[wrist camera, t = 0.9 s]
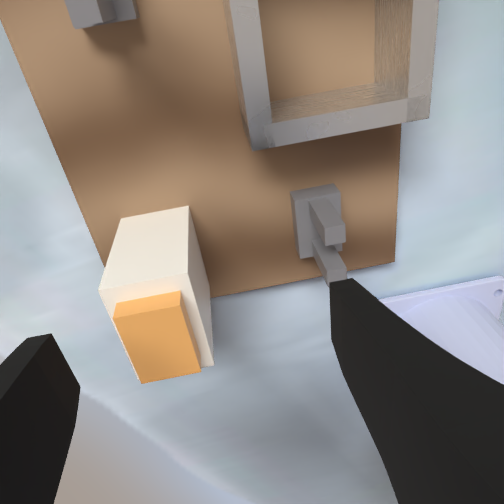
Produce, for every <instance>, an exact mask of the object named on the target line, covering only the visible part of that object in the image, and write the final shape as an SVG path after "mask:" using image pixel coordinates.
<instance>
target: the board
mask: <svg viewBox="0 0 504 504" xmlns="http://www.w3.org/2000/svg"><path fill="white" fill-rule="evenodd" d="M136 4H137V8H138V12H139V16H140V17H139V18H137V19H131V20H126V21H120V22H114V23H109V24H103V25H98V26H92V27H86V28H81V29H75V28H73V25H72V22H71V19H70V16H69V13H68V10H67V7H66V4H65V1H64V0H0V20H1V22H2V25H3V27H4V29H5V32H6V34H7V37H8V39H9V41H10V44H11V46H12V48H13V51H14V53H15V56H16V58H17V60H18V63H19V65H20V67H21V70H22V72H23V75H24V77H25V79H26V82H27V84H28V86H29V89H30V91H31V94H32V96H33V98H34V101H35V103H36V105H37V108H38V110H39V113H40V115H41V117H42V120H43V122H44V124H45V127H46V129H47V132H48V134H49V136H50V139H51V141H52V143H53V146H54V148H55V151H56V153H57V155H58V158H59V160H60V162H61V165H62V167H63V170H64V172H65V174H66V177H67V179H68V181H69V184H70V186H71V189H72V191H73V193H74V196H75V198H76V200H77V203H78V205H79V208H80V210H81V212H82V215H83V217H84V219H85V222H86V224H87V227H88V229H89V231H90V234H91V236H92V238H93V241H94V243H95V246H96V248H97V250H98V253H99V255H100V257H101V260H102V262H103V265H104V267H106V263H107V260H108V257H109V254H110V251H111V248H112V245H113V242H114V238H115V235H116V232H117V229H118V226H119V223H120V220H121V218H126V217H131V216H136V215H142V214H147V213H152V212H157V211H163V210H168V209H173V208H178V207H184V206H189V209H190V213H191V217H192V221H193V224H194V228H195V232H196V236H197V240H198V244H199V248H200V251H201V255H202V259H203V263H204V267H205V271H206V275H207V279H208V282H209V287H210V298H214V297H219V296H224V295H229V294H234V293H239V292H244V291H249V290H254V289H259V288H264V287H269V286H275V285H280V284H285V283H290V282H295V281H300V280H305V279H310V278H315V277H320V276H323V275H322V273H321V271H320V269H319V267H318V265H317V263H316V260H315V258H314V256H313V257H308V258H303V259H300V257H299V255H298V252H297V250H296V246H295V237H294V227H293V218H292V209H291V200H290V191H295V190H300V189H305V188H311V187H316V186H321V185H326V184H331V183H334V184H335V186H336V187H337V188H338V190H339V191H340V195H341V219H342V220H343V222H344V223H345V231H346V242H344V243H342V251H339V252H338V253H339V255H340V257H341V259H342V260H343V262H344V264H345V266H346V267H347V271H351V270H356V269H361V268H366V267H371V266H376V265H381V264H386V263H391V262H395V241H396V221H397V200H398V180H399V159H400V139H401V123H400V124H395V125H390V126H384V127H379V128H374V129H368V130H363V131H358V132H352V133H347V134H342V135H336V136H331V137H326V138H321V139H315V140H310V141H305V142H299V143H294V144H289V145H283V146H278V147H273V148H267V149H262V150H257V151H252V149H251V147H250V144H249V142H248V139H247V137H246V134H245V131H244V129H243V124H242V118H241V112H240V106H239V99H238V93H237V87H236V81H235V75H234V68H233V62H232V56H231V50H230V43H229V37H228V31H227V25H226V18H225V12H224V6H223V0H136ZM258 7H259V15H260V24H261V32H262V40H263V48H264V57H265V65H266V73H267V82H268V90H269V98H270V102H272V101H277V100H283V99H288V98H293V97H299V96H304V95H310V94H315V93H320V92H326V91H331V90H337V89H342V88H347V87H353V86H358V85H364V84H369V83H374V40H375V0H258Z"/></svg>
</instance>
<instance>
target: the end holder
mask: <svg viewBox="0 0 504 504" xmlns="http://www.w3.org/2000/svg"><path fill="white" fill-rule="evenodd" d="M223 6H224V12H225V18H226V25H227V31H228V37H229V43H230V50H231V56H232V62H233V68H234V75H235V81H236V87H237V93H238V99H239V106H240V112H241V118H242V124H243V129H244V131H245V134H246V137H247V139H248V142H249V144H250V147H251V149H252V151H257V150H262V149H267V148H273V147H278V146H283V145H289V144H294V143H299V142H305V141H310V140H315V139H321V138H326V137H331V136H336V135H342V134H347V133H352V132H358V131H363V130H368V129H374V128H379V127H384V126H390V125H395V124H400V123H406V122H411V121H416V120H421V119H427V118H429V112H430V100H431V89H432V77H433V65H434V53H435V41H436V30H437V18H438V6H439V0H375V40H374V83H369V84H364V85H358V86H353V87H347V88H342V89H337V90H331V91H326V92H320V93H315V94H310V95H304V96H299V97H293V98H288V99H283V100H277V101H272V102H270V98H269V90H268V82H267V73H266V65H265V57H264V48H263V40H262V32H261V24H260V15H259V7H258V0H223Z"/></svg>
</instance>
